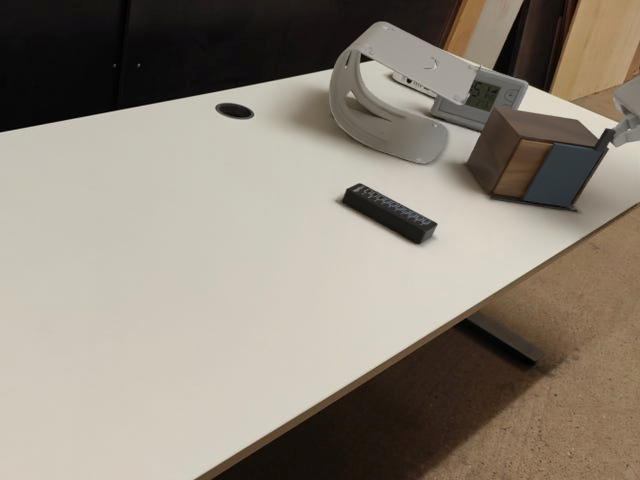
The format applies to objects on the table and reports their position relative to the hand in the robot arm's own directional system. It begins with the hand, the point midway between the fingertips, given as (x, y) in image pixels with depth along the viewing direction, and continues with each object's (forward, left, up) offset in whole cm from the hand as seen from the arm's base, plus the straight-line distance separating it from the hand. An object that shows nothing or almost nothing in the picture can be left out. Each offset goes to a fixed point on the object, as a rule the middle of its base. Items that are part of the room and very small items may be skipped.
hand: (610, 140), depth 110 cm
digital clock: (+8, -33, -13) cm, 36 cm away
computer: (+5, -55, -13) cm, 56 cm away
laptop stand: (+28, -24, -13) cm, 39 cm away
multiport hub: (+37, +14, -13) cm, 41 cm away
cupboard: (+7, -7, -13) cm, 16 cm away
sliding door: (+5, +1, -12) cm, 13 cm away
